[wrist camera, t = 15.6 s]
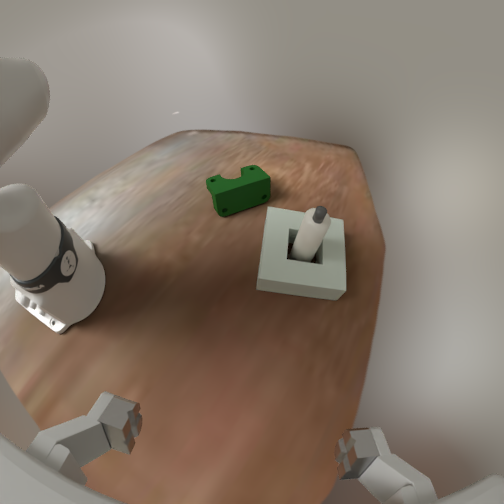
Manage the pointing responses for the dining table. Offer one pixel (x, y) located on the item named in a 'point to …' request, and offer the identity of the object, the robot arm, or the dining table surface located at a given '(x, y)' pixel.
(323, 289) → the housing
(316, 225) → the white bottle
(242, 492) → the dining table surface
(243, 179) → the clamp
